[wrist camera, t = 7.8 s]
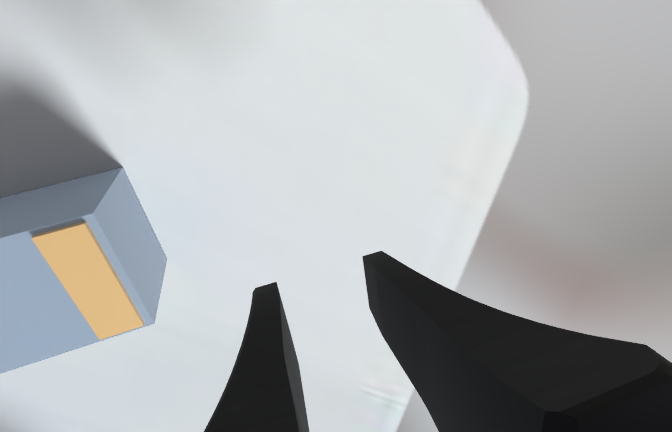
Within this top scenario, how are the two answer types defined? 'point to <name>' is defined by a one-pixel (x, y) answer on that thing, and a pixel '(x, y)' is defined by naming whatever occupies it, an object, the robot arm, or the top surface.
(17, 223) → the module block
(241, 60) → the top surface
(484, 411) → the robot arm
